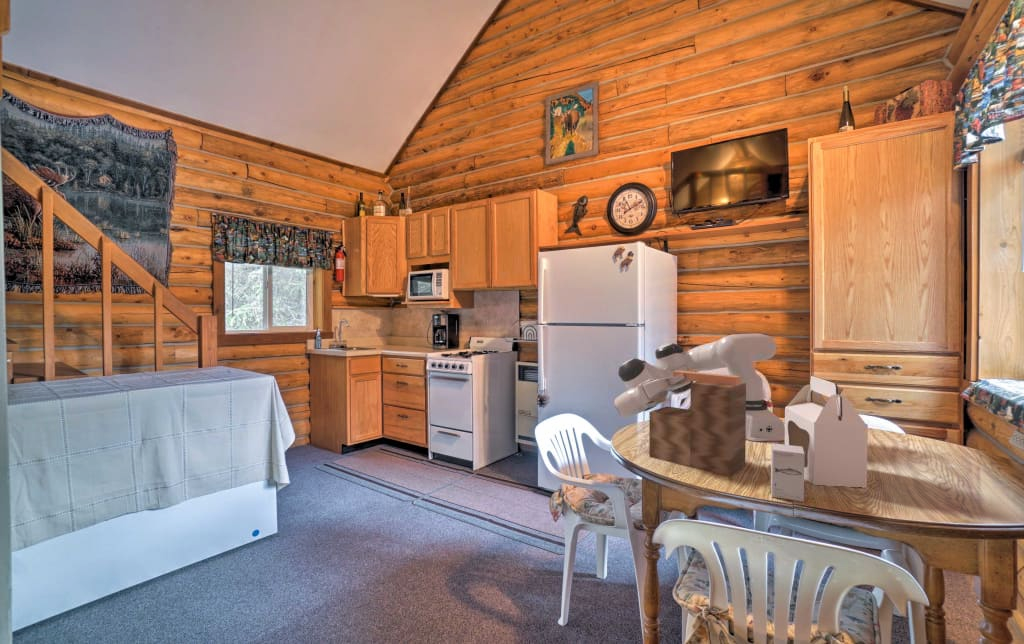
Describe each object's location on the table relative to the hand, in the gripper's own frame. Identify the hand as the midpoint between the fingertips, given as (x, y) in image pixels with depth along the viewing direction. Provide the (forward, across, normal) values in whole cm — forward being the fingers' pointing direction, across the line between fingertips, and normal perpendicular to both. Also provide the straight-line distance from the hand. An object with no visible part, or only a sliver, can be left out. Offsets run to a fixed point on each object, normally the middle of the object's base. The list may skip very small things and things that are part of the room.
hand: (687, 374), depth 153 cm
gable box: (+15, -16, -41) cm, 47 cm away
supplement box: (+14, +10, -40) cm, 43 cm away
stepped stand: (-11, 0, -26) cm, 28 cm away
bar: (+4, 0, -4) cm, 6 cm away
